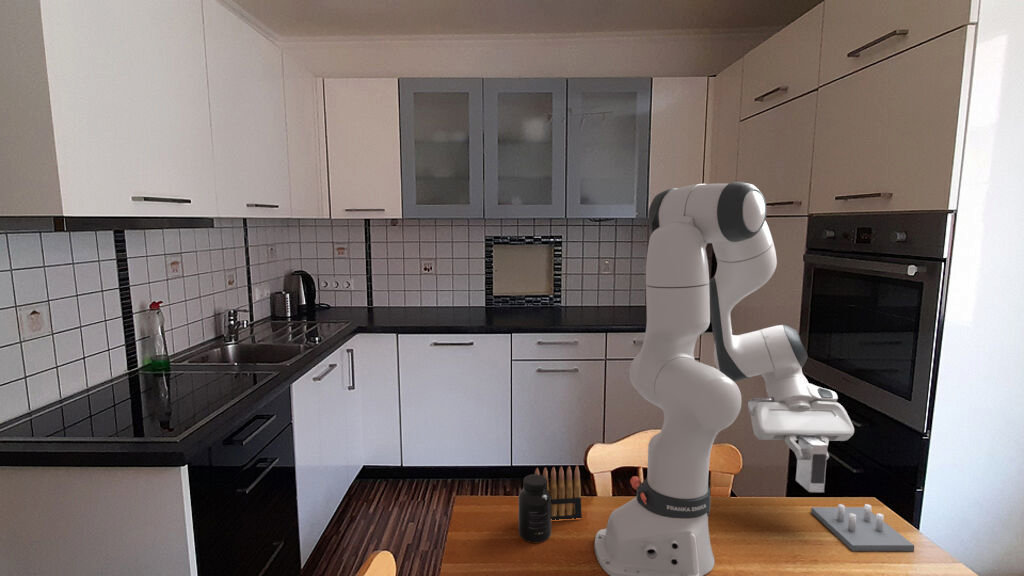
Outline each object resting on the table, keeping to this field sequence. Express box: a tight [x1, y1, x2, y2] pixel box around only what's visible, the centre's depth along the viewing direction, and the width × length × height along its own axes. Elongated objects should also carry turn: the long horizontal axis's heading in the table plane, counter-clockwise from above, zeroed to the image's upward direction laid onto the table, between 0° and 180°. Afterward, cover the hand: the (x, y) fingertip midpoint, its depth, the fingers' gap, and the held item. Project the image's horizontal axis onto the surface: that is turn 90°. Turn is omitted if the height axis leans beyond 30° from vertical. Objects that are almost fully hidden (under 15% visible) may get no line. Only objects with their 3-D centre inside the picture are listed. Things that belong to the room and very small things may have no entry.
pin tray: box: [810, 503, 915, 552], centre depth 107 cm, size 12×14×4 cm
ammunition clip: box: [534, 465, 583, 520], centre depth 111 cm, size 11×2×12 cm, turn 98°
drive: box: [795, 435, 829, 493], centre depth 106 cm, size 3×5×10 cm, turn 0°
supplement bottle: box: [518, 473, 552, 543], centre depth 105 cm, size 7×7×12 cm
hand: (813, 459), depth 106 cm, fingers closed on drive, 3 cm apart
